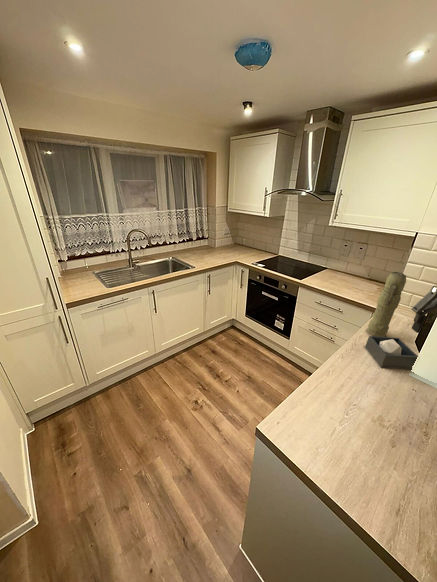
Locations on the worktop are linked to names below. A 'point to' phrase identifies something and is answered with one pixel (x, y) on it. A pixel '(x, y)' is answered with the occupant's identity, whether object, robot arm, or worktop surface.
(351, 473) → the worktop surface
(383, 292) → the green lumpy column
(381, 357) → the basin
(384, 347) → the die
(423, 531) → the worktop surface
